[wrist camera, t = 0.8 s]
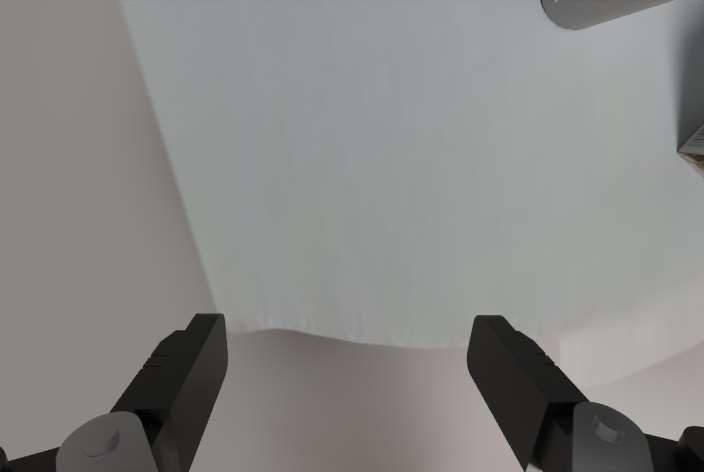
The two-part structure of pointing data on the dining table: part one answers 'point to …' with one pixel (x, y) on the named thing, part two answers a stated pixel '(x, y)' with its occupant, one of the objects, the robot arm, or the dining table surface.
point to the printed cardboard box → (694, 150)
